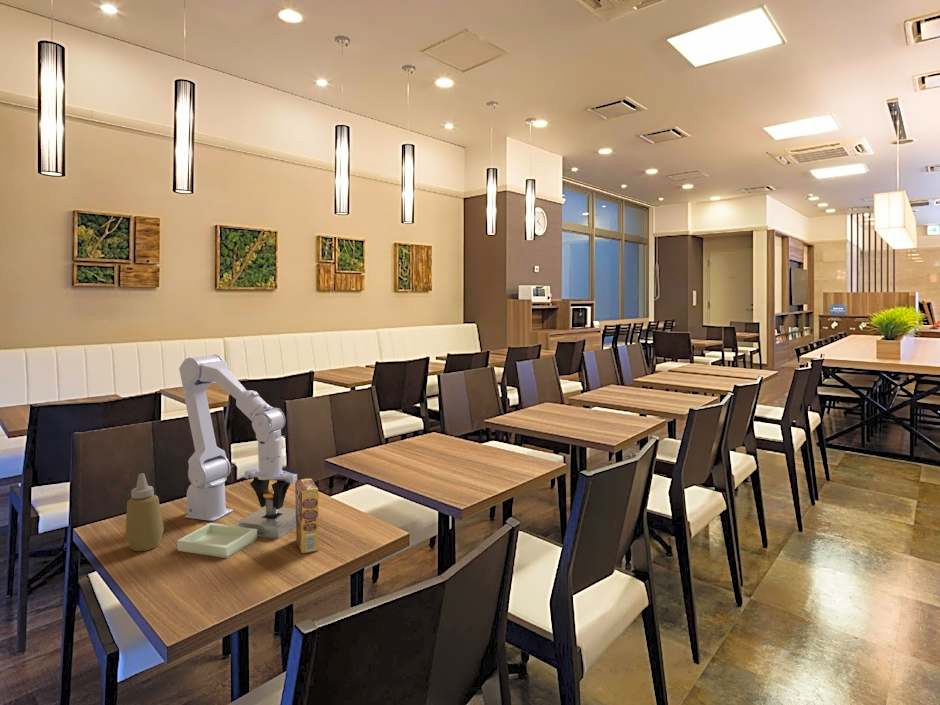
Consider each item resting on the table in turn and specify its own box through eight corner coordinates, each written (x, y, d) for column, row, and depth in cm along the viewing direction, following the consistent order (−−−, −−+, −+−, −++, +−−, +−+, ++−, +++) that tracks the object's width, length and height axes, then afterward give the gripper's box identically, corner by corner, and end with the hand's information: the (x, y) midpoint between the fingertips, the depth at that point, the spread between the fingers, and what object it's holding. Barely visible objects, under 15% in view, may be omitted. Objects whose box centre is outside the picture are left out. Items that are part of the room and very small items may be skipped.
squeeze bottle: (118, 551, 135) (113, 477, 133) (147, 537, 142) (143, 467, 140) (143, 556, 132) (138, 481, 130) (172, 542, 139) (168, 471, 138)
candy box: (320, 550, 135) (318, 488, 133) (301, 554, 133) (300, 491, 131) (313, 536, 143) (311, 477, 141) (295, 539, 141) (293, 480, 139)
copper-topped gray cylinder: (260, 523, 147) (259, 493, 146) (270, 517, 151) (269, 488, 150) (274, 525, 146) (273, 495, 145) (284, 519, 150) (283, 489, 149)
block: (237, 533, 145) (237, 521, 145) (267, 515, 156) (266, 505, 156) (278, 538, 141) (278, 527, 141) (305, 520, 153) (305, 509, 153)
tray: (177, 550, 135) (177, 540, 135) (210, 532, 145) (210, 522, 145) (226, 558, 131) (226, 547, 131) (257, 538, 141) (257, 529, 141)
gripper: (236, 457, 145) (238, 509, 147) (285, 462, 141) (286, 515, 142) (253, 450, 152) (255, 499, 153) (301, 455, 148) (302, 505, 149)
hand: (271, 506), depth 148 cm, fingers closed on copper-topped gray cylinder, 4 cm apart
